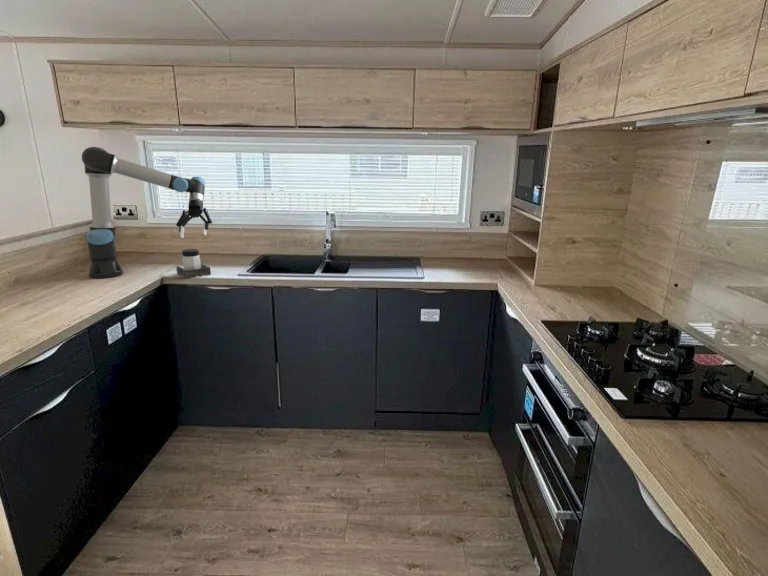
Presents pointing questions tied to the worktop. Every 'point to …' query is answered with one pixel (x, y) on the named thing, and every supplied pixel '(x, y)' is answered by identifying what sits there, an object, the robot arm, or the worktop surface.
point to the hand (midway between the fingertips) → (192, 236)
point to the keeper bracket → (194, 271)
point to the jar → (191, 259)
